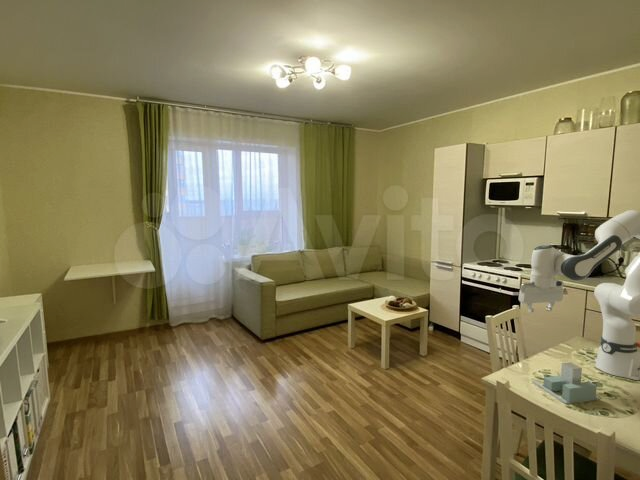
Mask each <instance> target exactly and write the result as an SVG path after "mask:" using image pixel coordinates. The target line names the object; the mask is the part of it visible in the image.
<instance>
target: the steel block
mask: <svg viewBox="0 0 640 480" xmlns="http://www.w3.org/2000/svg"><path fill="white" fill-rule="evenodd" d="M582 369H583V367H581V366H579V365H577V364H575V363H573V362H571V361H570V362H562V363H561V371H560V376H561V384H560V391H559V392H561V394H562V393H563V385H564V384H572V383H581V381H582Z"/></svg>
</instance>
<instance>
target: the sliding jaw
mask: <svg viewBox="0 0 640 480" xmlns="http://www.w3.org/2000/svg"><path fill="white" fill-rule="evenodd" d="M560 384H561V375H554V376H546V377H543V385H542V386H544V387H545V388H547V389H549V390H550V391H552V392H553V393H555V392H560Z"/></svg>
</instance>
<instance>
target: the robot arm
mask: <svg viewBox="0 0 640 480" xmlns="http://www.w3.org/2000/svg"><path fill="white" fill-rule="evenodd" d="M594 237H595V241H597V244H596V245H595V246H593V247H592V248H590V250H588V251H586V253H583V254H580V255H573V254H569V253H565V252H564V251H560V250H559V249H556V248H555V247H554V246H552V245H539V246H536V247H535V248H533V251H532V253H531V261H530V267H531V271H530V277H529V282H524V283H522V284H521V285H520V289H519V293H518V301H519V303H522V304H525V305H526V307H527V312H528V313H531V314H532V313H534V311H535V310H534V308H533V307H532V306H533V304H539V303H547V304H548V305H547V306H546V307H545V310H546V311H547V312H552V311H553V308H554V306H555V304H556V302H562V301H563V299H564V281H562V280H560V279H556V278H555V277H554V276H555V274H558V275H561V276H562V277H563V276H564V277H566V278H567V279H569V280H573V281H582V280H585V279H586V278H588V277H589V276H590V275H591V273H592V272H593V271H594V270H595V268H597V267H598V266H599V265H601V264H602V263H603V262H604V261H606V260H607V259H608V258H610V257H612V255H614V254H615V253H616V252H617V251H618V250H619V249H620V248H621V247H622V245H624V244H625V243H627V242H628V241H630V240H631V239H636V240H640V211H639V210H635V209H631V210H626V211H623V212H622V213H620V214H617V215H615V216H613V217H612V218H609V219H608V220H606V221H605V222H603V223H601V224H600V225H599V226H598V227H597V228H596V229H595V231H594ZM624 274H625V276H626V278H625V281H624V283H623V285H622V284H617V283H614V282H602V283H599V284H598V285H597V286H596V287H594V291H593V295H594V297H595V299H596V300H597V302H598V304H599V306H600V308H599V309H600V313H601V315H602V336H601V337H600V345H599V347H598V351H597V356H596V358H595V359H594V363H595V367H596V368H597V370H600V371H602V372H604V373H606V374H609V375H612V376H616V377H620V378H621V377H622V378H626V379H631V380H635V381H640V351H639V350H638V348H639V349H640V342H637V341H636V331H637V330H636V329H637V327H636V323H634V321H633V319H632V317H631V316H634V317H640V251H639V252H638V253H637V254H636V255H635V257H634V258H633V260H632V261H631V262H630V263H629V264H628V266H627V267H626V268H625V270H624Z"/></svg>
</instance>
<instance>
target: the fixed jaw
mask: <svg viewBox="0 0 640 480" xmlns="http://www.w3.org/2000/svg"><path fill="white" fill-rule="evenodd" d="M532 384H534V385H536V386H537V387H538V388H540V389H541V390H543V391H545V392H546V393H548V394H549V395H551V396H552V397H553V398H555V399H557V400H559V401H560V402H561V403H563V404H565V405H568V404H575V403H583V402H590V401H599V400H600V397H599V396H597V384H594V383H593V382H591V381H582V382H581V383H572V384H564V385H563V393H562V392H561V396H560V395H558V394H556V393H555V392H552V391H550V390H549V389H547V388H545V387H544V386H543V385H542V384H541V383H539V382H537V381H536V380H532Z"/></svg>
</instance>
